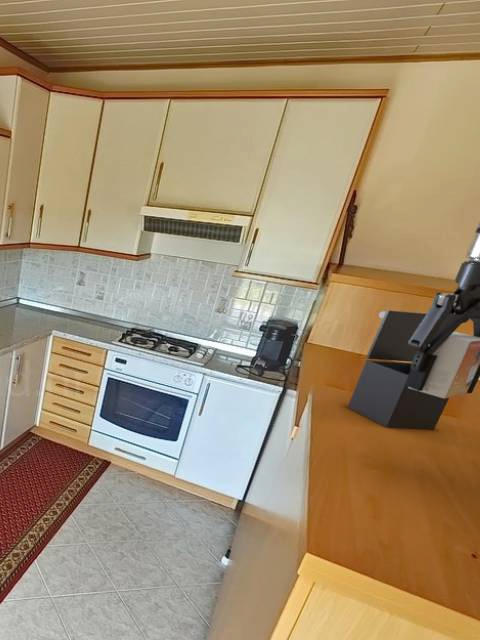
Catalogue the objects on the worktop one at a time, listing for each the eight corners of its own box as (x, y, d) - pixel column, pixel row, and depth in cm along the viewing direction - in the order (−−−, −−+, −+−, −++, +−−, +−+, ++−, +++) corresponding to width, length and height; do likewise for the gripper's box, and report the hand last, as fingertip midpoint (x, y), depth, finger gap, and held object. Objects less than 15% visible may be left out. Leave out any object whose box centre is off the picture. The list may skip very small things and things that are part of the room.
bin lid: (436, 314, 115) (415, 308, 120) (389, 310, 114) (369, 305, 119) (413, 361, 120) (394, 354, 125) (368, 358, 119) (350, 351, 124)
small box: (444, 399, 84) (470, 341, 81) (406, 388, 89) (429, 332, 85) (466, 395, 88) (493, 339, 84) (429, 385, 92) (452, 331, 89)
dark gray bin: (434, 429, 114) (458, 379, 110) (386, 427, 113) (409, 376, 109) (391, 409, 125) (411, 362, 120) (347, 407, 124) (366, 359, 119)
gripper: (526, 264, 85) (470, 384, 93) (413, 255, 83) (365, 379, 90) (580, 270, 78) (514, 399, 86) (458, 260, 76) (401, 394, 83)
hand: (437, 389), depth 88 cm, fingers closed on small box, 9 cm apart
